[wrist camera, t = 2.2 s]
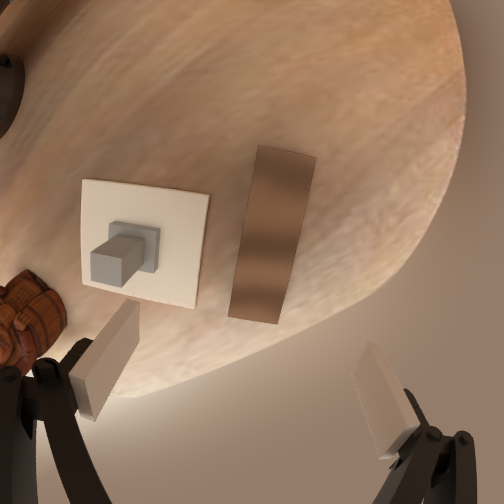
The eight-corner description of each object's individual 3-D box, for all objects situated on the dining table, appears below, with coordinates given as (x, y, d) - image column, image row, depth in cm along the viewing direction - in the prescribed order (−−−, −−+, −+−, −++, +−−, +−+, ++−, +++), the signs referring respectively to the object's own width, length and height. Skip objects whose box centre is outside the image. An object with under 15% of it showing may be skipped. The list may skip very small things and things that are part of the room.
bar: (258, 146, 31) (258, 145, 26) (307, 157, 31) (316, 157, 26) (231, 295, 37) (227, 316, 32) (275, 303, 37) (277, 324, 32)
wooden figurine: (76, 307, 38) (6, 382, 21) (65, 333, 39) (5, 405, 22) (23, 260, 35) (-56, 313, 18) (16, 288, 37) (-53, 343, 20)
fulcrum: (86, 178, 32) (42, 189, 23) (210, 194, 32) (193, 209, 24) (86, 281, 36) (51, 312, 28) (195, 305, 37) (180, 347, 28)
